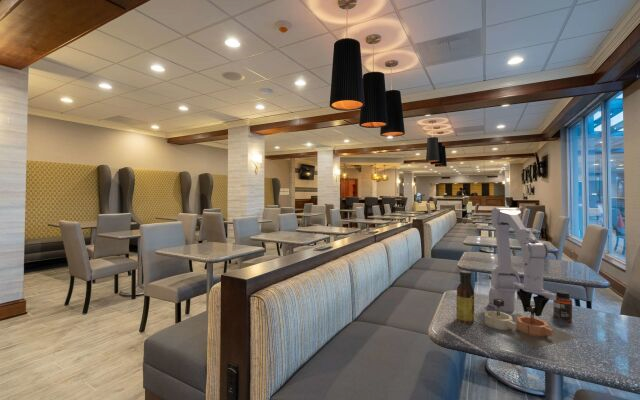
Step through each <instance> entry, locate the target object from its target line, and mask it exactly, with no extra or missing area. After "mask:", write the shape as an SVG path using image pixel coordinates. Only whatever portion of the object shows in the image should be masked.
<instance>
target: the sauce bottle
mask: <svg viewBox="0 0 640 400" xmlns="http://www.w3.org/2000/svg"><path fill="white" fill-rule="evenodd" d="M459 276H460V277H459V279H460V280H459V282H460V283H459V284H458V286H457V288H456V321H457V322H459V323H461V324H465V325H471V324H472V325H473V324H474V322H475V321H474V320H475V291H474V288H473V285H472V281H471V280H472V272H471V271H469V270H460V271H459Z"/></svg>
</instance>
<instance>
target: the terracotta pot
mask: <svg viewBox="0 0 640 400" xmlns="http://www.w3.org/2000/svg"><path fill="white" fill-rule="evenodd" d="M530 320H531V316H525V315H523V316H521V317H517V329H518V330H519V331H521V332H523V333H525V334H528V335H532V336H539V337H543V336H546V335H548V336H550V337H552V336H553V330H552V329H550V328H548V326H549V324H548V322H547V321H545V320H542V319H540V318H537V317H534V323H530Z"/></svg>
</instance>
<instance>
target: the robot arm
mask: <svg viewBox="0 0 640 400" xmlns="http://www.w3.org/2000/svg"><path fill="white" fill-rule="evenodd" d="M490 219H491V220H490V221H491V226H492V227H493V228H495V238H496V239H495V241H496V252H497V253H496V254H497V255H496V256H497V266H495V268H493V269H492V270H491V276H490V283H491V286H492V287H490V289H489V291H488V306H489V307H493V308H495V309H496V310H497V306H496V305H494V304H493V299H501V300H504V306H500V312H505V313H506V312H510V313H511V312H512V313H513V312H515V307H516V305H515V303H516V302H515V301H516V300H515V299H516V294H517V296H518V297H519V300H520V302H521V305H522V309H523V311H524V312H525V313H526V312H527V313H528V311H527V310H526V309H527V305H531V300H532V299H533V302H534V306H535V313H534V317H541V316H542V315H543V310H544V309H545V306H546V305H547V303H548V302H549V301H553V300H556V295H557V294H556V293H555V292H554V293H553V292H551V291H549V290H546V289H545V288H544V268H545V267H544V265H545V260H546V259H547V258H548V255H549V249H548V246H547V245H546V243H545V242H542V241H539V240H538V239H537V237H536V236H535V235H534V233H533V231H532V230H530V229H529V228H526V227H525V225H524V223H523V221H522V212H521V210H520V208H519V207H495V206H494V207H493V209H492V210H491V213H490ZM510 229H512V230H513V231H514V232H515V234H514V237H515V239H516V240H517V242H518V244H519V246H520V247H521V250H520V251H521V256H522V262H523V264H524V265H523V267H524V268H523V283H521V278H520V276H519V272H518V270H517V269H515V268H513V266H512V257H511V256H512V255H511V244H510Z"/></svg>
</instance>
